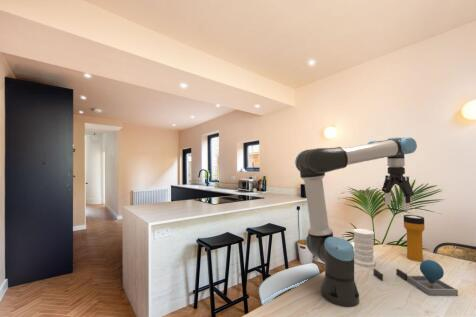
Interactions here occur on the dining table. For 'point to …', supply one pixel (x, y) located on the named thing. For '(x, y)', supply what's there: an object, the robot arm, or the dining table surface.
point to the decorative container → (363, 247)
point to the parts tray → (437, 290)
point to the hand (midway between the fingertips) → (396, 207)
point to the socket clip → (398, 272)
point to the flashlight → (414, 236)
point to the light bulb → (431, 271)
